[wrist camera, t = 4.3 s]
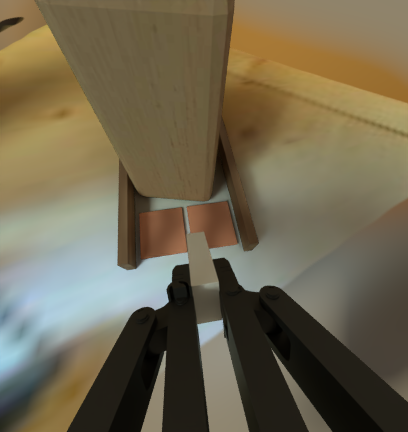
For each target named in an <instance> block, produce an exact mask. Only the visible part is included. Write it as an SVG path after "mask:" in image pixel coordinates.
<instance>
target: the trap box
mask: <svg viewBox="0 0 408 432" xmlns="http://www.w3.org/2000/svg"><path fill="white" fill-rule="evenodd" d="M218 151H219V155H220V159H221V163H222V167H223V170H224V174H225V178H226V182H227V186H228V190H229V194H230V198H231V202H232V206H233V210H234V214H235V217H236V221H237V225H238V229H239V233H240V237H241V241H242V245H243V249H244V251H249V250H252V249H253V248H254V247H255V246H256V245H257V244H258V243H259V242H258V238H257V235H256V232H255V228H254V225H253V221H252V218H251V214H250V211H249V208H248V204H247V201H246V197H245V194H244V190H243V187H242V184H241V180H240V177H239V173H238V170H237V166H236V163H235V160H234V156H233V153H232V149H231V146H230V143H229V139H228V136H227V132H226V129H225V125H224V122H223V119H222V115H221V123H220V132H219V140H218ZM187 212H188V219H189V226H190V233H197V232H204V234H205V237H206V241H207V244H208V247H209V249H210V248H217V247H223V246H229V245H236V244H237V240H236V235H235V231H234V227H233V223H232V219H231V215H230V211H229V207H228V203H227V201H225V202H218V203H210V204H203V205H196V206H188V207H187ZM139 219H140V250H141V259H147V258H153V257H159V256H166V255H172V254H178V253H185V252H187V245H186V237H185V230H184V222H183V215H182V208H174V209H166V210H159V211H152V212H144V213H139ZM118 266H120V267H122V268H124V269H126V270H131V269H136V242H135V198H134V184H133V182H132V181H131V179H130V177H129V175H128V173H127V171H126V169H125V168H124V166H123V164H122V162H121V160H120V158H119V206H118Z"/></svg>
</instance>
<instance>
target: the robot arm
mask: <svg viewBox="0 0 408 432" xmlns="http://www.w3.org/2000/svg"><path fill="white" fill-rule="evenodd" d="M186 236H187V247H188V258H189V264H184V265H177V266H175V267H174V269H173V271H172V283H170V284H169V286H168V287H167V294H168V299H169V302H168V303H167V304H166V305H165V306H164V307H162V308H160V309H158V310H154V309H152V308H150V307H143V308H140V309H138V310H136V311H135V312H134V313H133V314H132V315H131V316H130V318H129V320H128V322H127V323H126V325H125V327H124V329H123V331H122V332H121V334H120V336H119V338H118V340H117V341H116V343H115V345H114V347H113V349H112V351H111V352H110V354H109V356H108V358H107V360H106V361H105V363H104V365H103V367H102V369H101V370H100V372H99V374H98V376H97V378H96V380H95V381H94V383H93V385H92V387H91V389H90V390H89V392H88V394H87V396H86V398H85V399H84V401H83V403H82V405H81V407H80V409H79V410H78V412H77V414H76V416H75V418H74V419H73V421H72V423H71V425H70V427H69V428H68V430H67V432H141V429H142V425H143V422H144V419H145V415H146V412H147V409H148V405H149V401H150V399H151V395H152V392H153V389H154V385H155V382H156V379H157V375H158V372H159V369H160V365H161V362H162V358H163V355H164V351H166V368H165V387H164V405H163V423H162V432H209V424H208V415H207V406H206V396H205V388H204V378H203V369H202V361H201V352H200V343H199V334H198V327H197V324H201V323H206V322H212V321H217V320H222V318H223V325H224V337H225V338H226V339H227V343H228V347H229V351H230V355H231V360H232V364H233V367H234V371H235V376H236V380H237V384H238V388H239V392H240V396H241V400H242V404H243V408H244V412H245V416H246V420H247V424H248V428H249V432H309V431H308V429H307V427H306V425H305V423H304V420H303V418H302V416H301V414H300V411H299V409H298V407H297V405H296V403H295V401H294V398H293V396H292V394H291V392H290V389H289V387H288V385H287V383H286V381H285V378H284V376H283V374H282V372H281V370H280V368H279V365H278V363H277V361H276V359H275V357H274V354H273V352H272V350H273V351H274V353H275V354H276V355H277V357H278V358H279V359H280V361H281V362H282V364H283V365H284V366H285V368H286V369H287V370H288V372H289V373H290V374H291V376H292V377H293V379H294V380H295V381H296V383H297V384H298V385H299V387H300V388H301V389H302V391H303V392H304V394H305V395H306V396H307V398H308V399H309V400H310V402H311V403H312V404H313V405H314V407H315V409H316V410H317V411H318V413H319V414H320V415H321V417H322V418H323V419H324V421H325V422H326V424H327V425H328V426H329V428H330V429H331V430H332V432H408V402H407V401H406V400H404V398H403V397H401V396H400V395H399V394H398V393H397V392H396V391H394V389H392V388H391V387H390V386H389V385H388V384H387V383H386V382H385V381H384V380H382V379H381V378H380V377H379V376H378V375H377V374H376V373H375V372H373V371H372V370H371V369H370V368H369V367H368V366H367V365H366V364H364V363H363V362H362V361H361V360H360V359H359V358H358V357H357V356H356V355H354V354H353V353H352V352H351V351H350V350H349V349H348V348H346V347H345V346H344V345H343V344H342V343H341V342H340V341H339V340H337V338H335V337H334V336H333V335H332V334H331V333H330V332H329V331H328V330H326V329H325V328H324V327H323V326H322V325H321V324H320V323H319V322H317V321H316V320H315V319H314V318H313V317H312V316H311V315H309V313H307V312H306V311H305V310H304V309H303V308H302V307H301V306H300V305H298V304H297V303H296V302H295V301H294V300H293V299H292V298H291V297H289V296H288V295H287V294H286V293H285V292H284V291H283V290H281V289H280V288H278V287H275V286H264V287H263V288H261V289H260V291H259V292H250V291H247V290H244V289H243V287H242V286H241V285H239V284H238V281H237V279H236V277H235V274H234V272H233V270H232V268H231V265H230V263H229V261H228V260H226V259H225V258H219V259H213V260H212V257H211V254H210V251H209V247H208V244H207V241H206V237H205V234H204V232H197V233H190V234H186ZM270 347H271V348H270ZM271 349H272V350H271Z"/></svg>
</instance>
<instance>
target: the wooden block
mask: <svg viewBox="0 0 408 432" xmlns="http://www.w3.org/2000/svg"><path fill="white" fill-rule="evenodd" d="M35 2H36V4H37V6H38V7H39V10H40V11H41V13H42V15H43V17H44V19H45V20H46V23H47V24H48V26H49V28H50V30H51V32H52V34H53V36H54V37H55V39H56V41H57V43H58V45H59V47H60V49H61V50H62V52H63V54H64V56H65V58H66V60H67V62H68V63H69V65H70V67H71V69H72V71H73V73H74V75H75V76H76V78H77V80H78V82H79V84H80V86H81V88H82V89H83V91H84V93H85V95H86V97H87V99H88V101H89V102H90V104H91V106H92V108H93V110H94V112H95V114H96V116H97V117H98V119H99V121H100V123H101V125H102V127H103V129H104V130H105V132H106V134H107V136H108V138H109V140H110V142H111V143H112V145H113V147H114V149H115V151H116V153H117V155H118V156H119V158H120V160H121V162H122V164H123V166H124V168H125V169H126V171H127V173H128V175H129V177H130V179H131V181H132V182H133V184H134V186H135V188H136V190H137V192H138V194H140V195H142V196H145V197H155V198H168V199H180V200H193V201H208V200H209V199H210V197H211V196H212V190H213V182H214V174H215V165H216V157H217V148H218V140H219V132H220V123H221V115H222V106H223V98H224V90H225V81H226V73H227V64H228V56H229V48H230V39H231V31H232V22H233V14H234V0H35Z"/></svg>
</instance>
